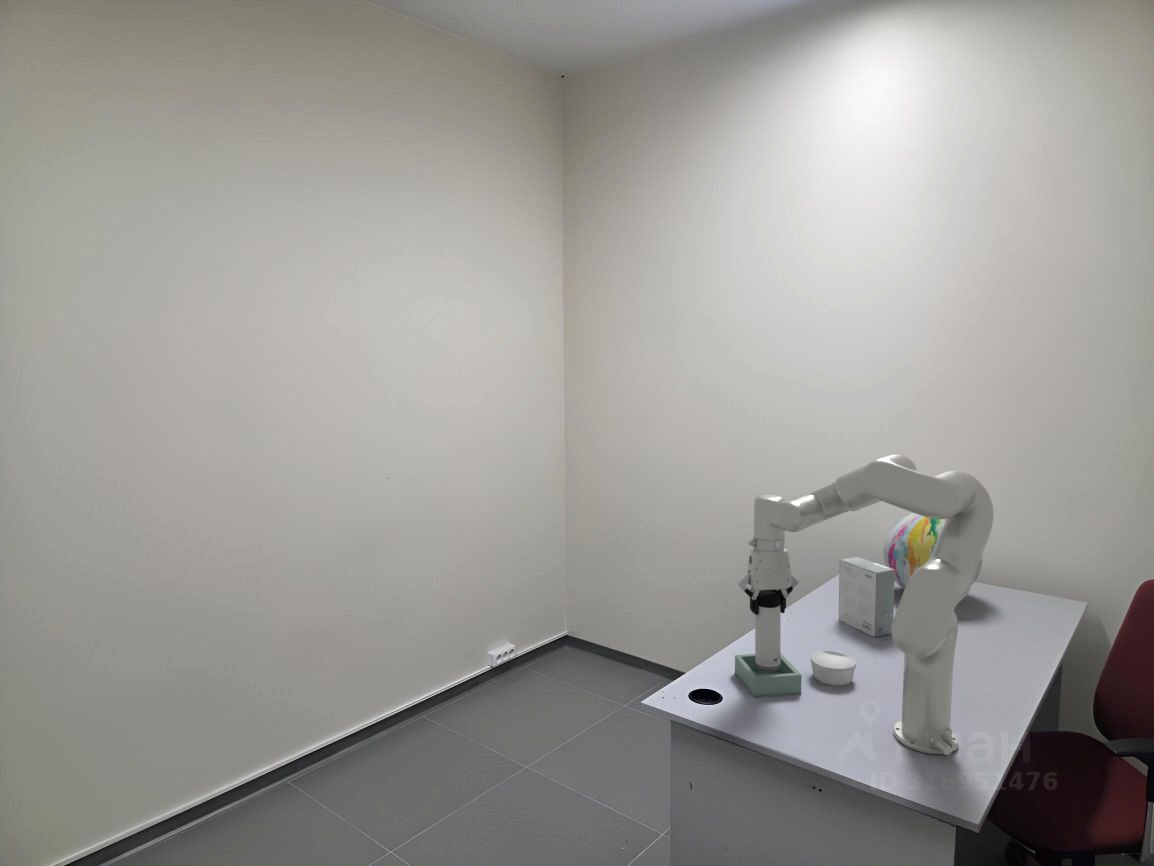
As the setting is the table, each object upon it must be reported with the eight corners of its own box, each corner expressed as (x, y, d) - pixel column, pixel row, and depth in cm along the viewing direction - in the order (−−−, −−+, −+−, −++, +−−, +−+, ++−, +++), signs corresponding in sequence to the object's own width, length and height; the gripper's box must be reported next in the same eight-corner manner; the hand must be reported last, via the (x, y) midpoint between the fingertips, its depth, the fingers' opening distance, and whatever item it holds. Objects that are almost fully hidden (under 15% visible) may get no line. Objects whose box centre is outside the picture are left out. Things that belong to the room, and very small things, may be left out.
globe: (863, 588, 247) (865, 506, 244) (930, 578, 256) (933, 499, 253) (928, 618, 219) (932, 526, 215) (1001, 606, 228) (1006, 517, 224)
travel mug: (782, 671, 175) (782, 595, 172) (756, 670, 176) (755, 594, 174) (780, 660, 181) (780, 587, 178) (754, 659, 182) (754, 586, 180)
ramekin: (854, 671, 184) (855, 653, 184) (856, 691, 174) (857, 671, 173) (810, 666, 188) (811, 647, 187) (809, 684, 178) (810, 665, 177)
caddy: (801, 693, 173) (801, 674, 172) (753, 697, 171) (753, 678, 171) (779, 669, 186) (779, 651, 186) (734, 673, 185) (734, 655, 184)
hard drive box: (894, 633, 208) (896, 569, 206) (874, 638, 205) (876, 573, 203) (855, 616, 222) (857, 555, 220) (837, 619, 219) (838, 558, 217)
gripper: (741, 550, 170) (740, 620, 172) (808, 546, 172) (806, 615, 174) (730, 541, 177) (730, 608, 179) (795, 538, 179) (793, 604, 181)
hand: (767, 611), depth 177 cm, fingers closed on travel mug, 6 cm apart
